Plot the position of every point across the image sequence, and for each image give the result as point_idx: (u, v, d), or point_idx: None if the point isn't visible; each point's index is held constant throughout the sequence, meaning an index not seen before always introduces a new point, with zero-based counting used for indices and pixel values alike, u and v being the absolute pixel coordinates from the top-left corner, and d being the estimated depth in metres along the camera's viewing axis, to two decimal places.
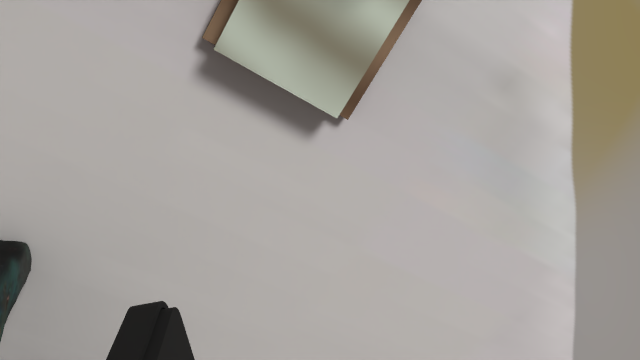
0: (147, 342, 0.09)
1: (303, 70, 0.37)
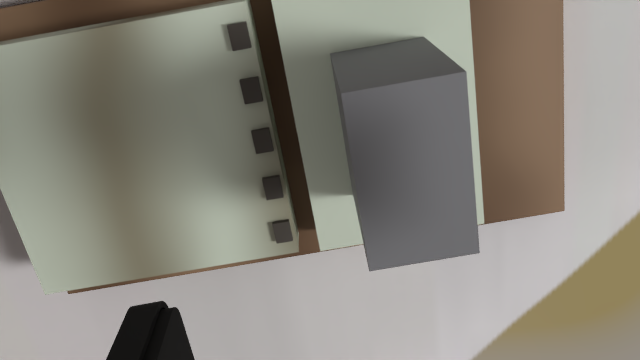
0: (147, 342, 0.09)
1: (55, 204, 0.20)
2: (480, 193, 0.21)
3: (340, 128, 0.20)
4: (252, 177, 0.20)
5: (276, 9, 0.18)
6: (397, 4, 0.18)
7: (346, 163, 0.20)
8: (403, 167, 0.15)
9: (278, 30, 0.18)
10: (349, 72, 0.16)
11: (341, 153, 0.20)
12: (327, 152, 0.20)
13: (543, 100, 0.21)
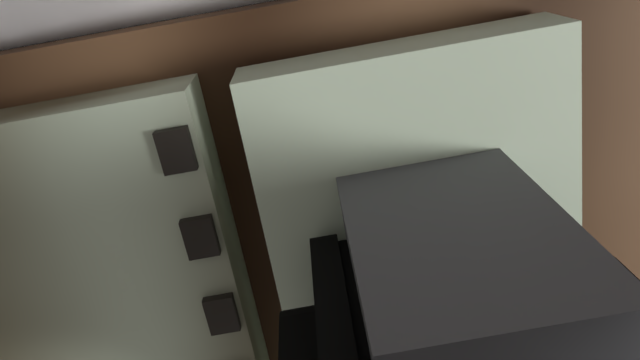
0: (342, 263, 0.10)
1: None
2: None
3: None
4: None
5: (240, 106, 0.10)
6: (456, 95, 0.10)
7: None
8: None
9: (244, 140, 0.10)
10: (380, 255, 0.08)
11: None
12: None
13: None
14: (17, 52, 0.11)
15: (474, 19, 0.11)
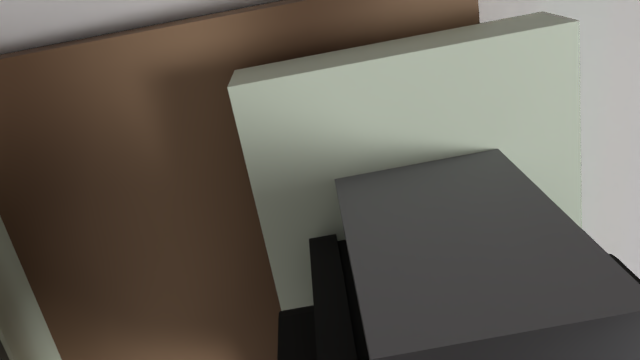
0: (341, 263, 0.10)
1: None
2: None
3: None
4: None
5: (238, 108, 0.10)
6: (453, 95, 0.10)
7: None
8: None
9: (243, 143, 0.10)
10: (378, 258, 0.08)
11: None
12: None
13: None
14: None
15: (232, 65, 0.11)
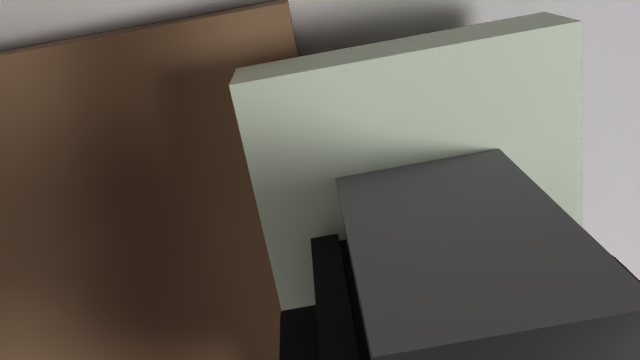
0: (342, 262, 0.10)
1: None
2: None
3: None
4: None
5: (239, 106, 0.10)
6: (455, 95, 0.10)
7: None
8: None
9: (244, 141, 0.10)
10: (380, 256, 0.08)
11: None
12: None
13: None
14: None
15: (51, 97, 0.12)
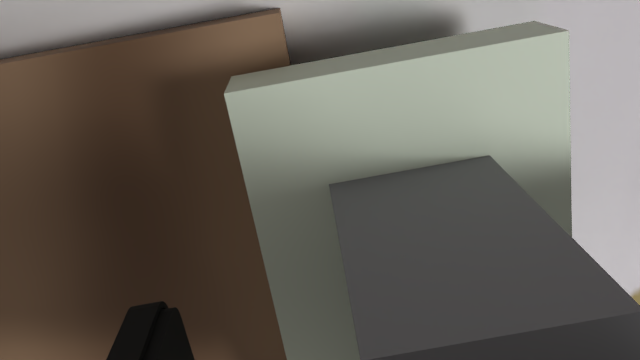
0: (147, 342, 0.09)
1: None
2: None
3: (346, 299, 0.12)
4: None
5: (234, 114, 0.10)
6: (446, 103, 0.10)
7: (356, 350, 0.12)
8: None
9: (239, 148, 0.10)
10: (370, 262, 0.08)
11: (348, 336, 0.12)
12: (325, 335, 0.12)
13: None
14: None
15: (47, 104, 0.12)
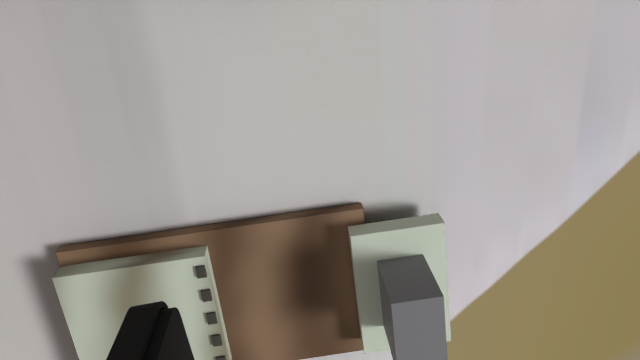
0: (147, 342, 0.09)
1: (100, 347, 0.39)
2: (449, 326, 0.40)
3: (379, 294, 0.38)
4: (206, 335, 0.39)
5: (352, 242, 0.37)
6: (411, 240, 0.37)
7: (381, 310, 0.39)
8: (415, 332, 0.34)
9: (352, 250, 0.37)
10: (391, 284, 0.35)
11: (379, 306, 0.39)
12: (372, 305, 0.39)
13: None
14: (153, 238, 0.38)
15: (290, 232, 0.38)
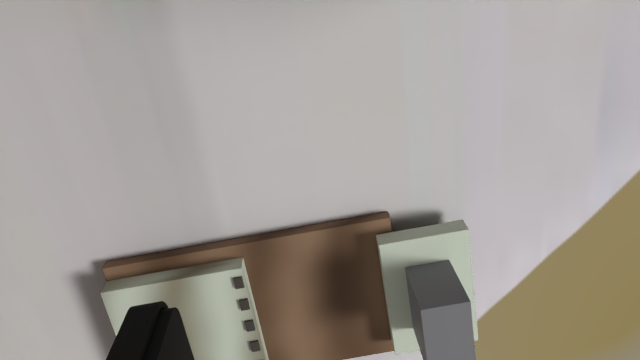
0: (147, 342, 0.09)
1: None
2: (476, 326, 0.41)
3: (408, 298, 0.40)
4: (245, 341, 0.41)
5: (381, 250, 0.39)
6: (437, 246, 0.39)
7: (410, 314, 0.41)
8: (444, 336, 0.35)
9: (381, 258, 0.39)
10: (419, 291, 0.36)
11: (408, 309, 0.41)
12: (401, 309, 0.41)
13: None
14: (192, 252, 0.40)
15: (321, 242, 0.40)
